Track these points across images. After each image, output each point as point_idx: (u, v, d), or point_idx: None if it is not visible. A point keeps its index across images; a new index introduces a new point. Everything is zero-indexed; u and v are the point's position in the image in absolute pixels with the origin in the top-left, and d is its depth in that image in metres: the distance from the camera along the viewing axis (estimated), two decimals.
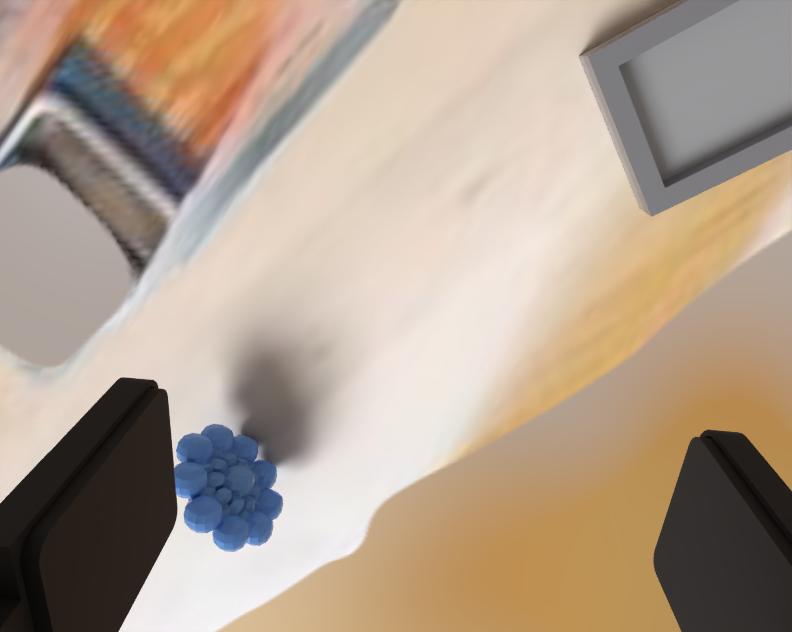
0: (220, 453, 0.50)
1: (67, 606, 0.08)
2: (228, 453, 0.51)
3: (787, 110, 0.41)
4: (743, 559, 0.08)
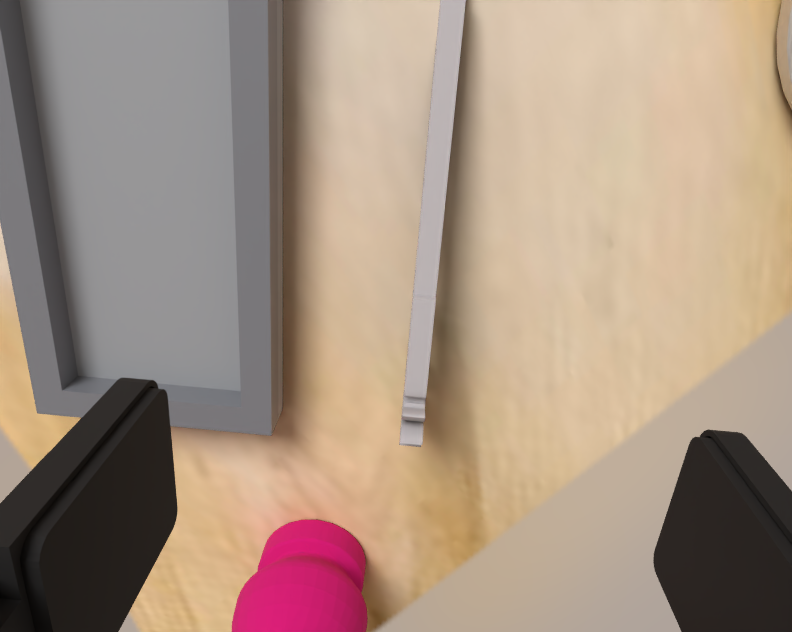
0: None
1: (67, 606, 0.08)
2: None
3: (45, 74, 0.26)
4: (743, 559, 0.08)
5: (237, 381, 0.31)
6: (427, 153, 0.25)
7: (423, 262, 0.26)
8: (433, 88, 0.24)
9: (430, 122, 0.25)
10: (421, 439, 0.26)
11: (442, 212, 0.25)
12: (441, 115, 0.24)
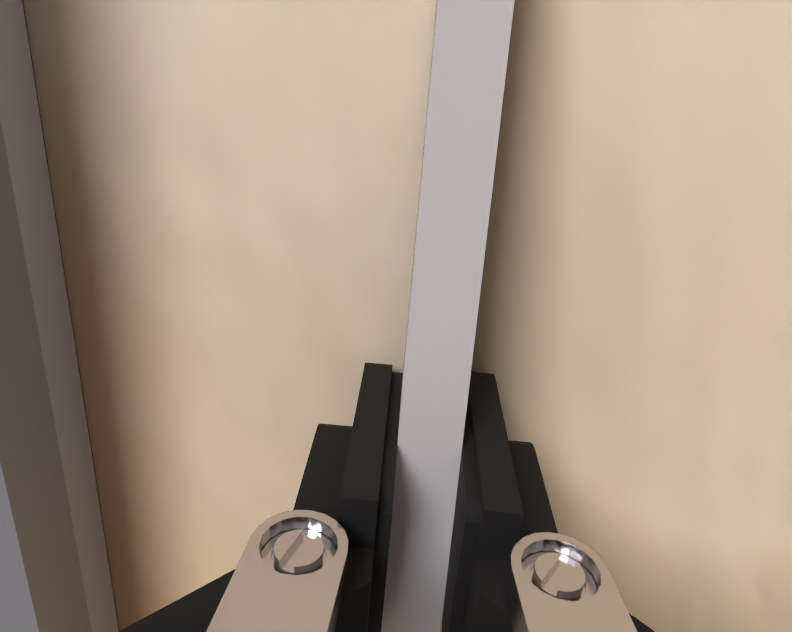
0: None
1: None
2: None
3: None
4: None
5: None
6: (409, 341, 0.09)
7: (401, 611, 0.10)
8: (426, 162, 0.08)
9: (417, 258, 0.09)
10: None
11: (451, 491, 0.09)
12: (450, 241, 0.08)
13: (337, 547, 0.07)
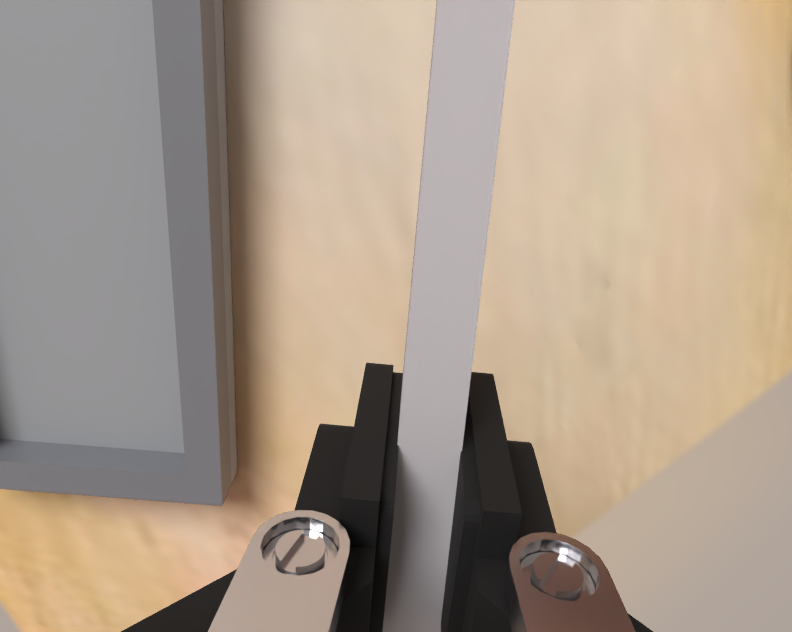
0: None
1: None
2: None
3: None
4: None
5: (183, 442, 0.27)
6: (409, 343, 0.09)
7: (401, 613, 0.10)
8: (426, 163, 0.08)
9: (417, 259, 0.08)
10: None
11: (451, 493, 0.09)
12: (450, 240, 0.08)
13: (339, 547, 0.07)
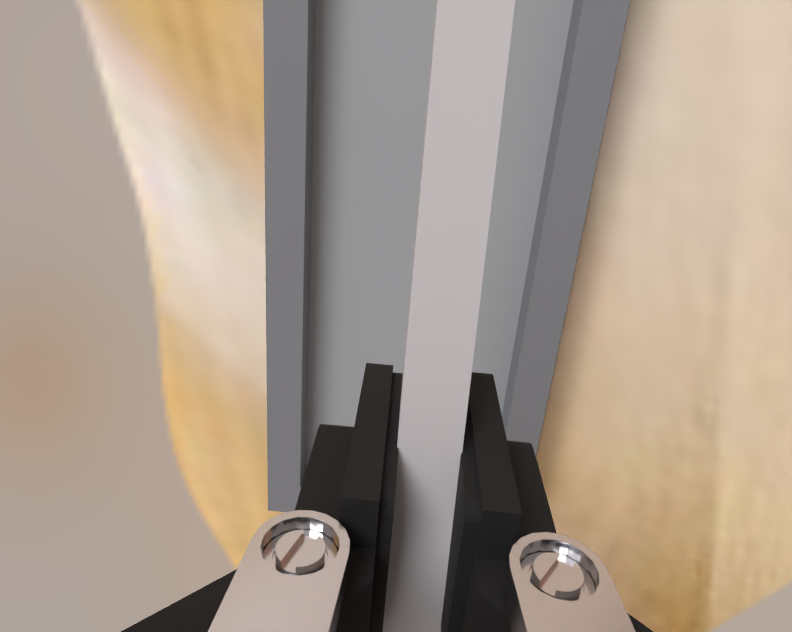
0: None
1: None
2: None
3: (328, 164, 0.24)
4: None
5: None
6: (409, 346, 0.09)
7: (400, 617, 0.10)
8: (425, 166, 0.08)
9: (417, 262, 0.08)
10: None
11: (451, 497, 0.09)
12: (449, 244, 0.08)
13: (338, 547, 0.07)
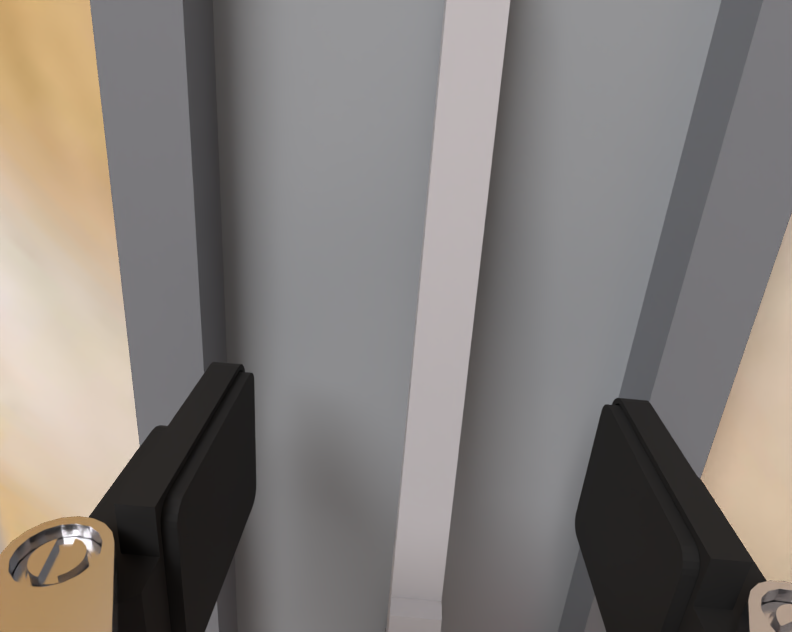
0: None
1: (191, 566, 0.08)
2: None
3: (251, 257, 0.13)
4: (633, 511, 0.09)
5: None
6: (421, 296, 0.10)
7: (413, 531, 0.11)
8: (435, 143, 0.10)
9: (428, 224, 0.10)
10: None
11: (457, 426, 0.11)
12: (456, 209, 0.10)
13: (100, 557, 0.07)
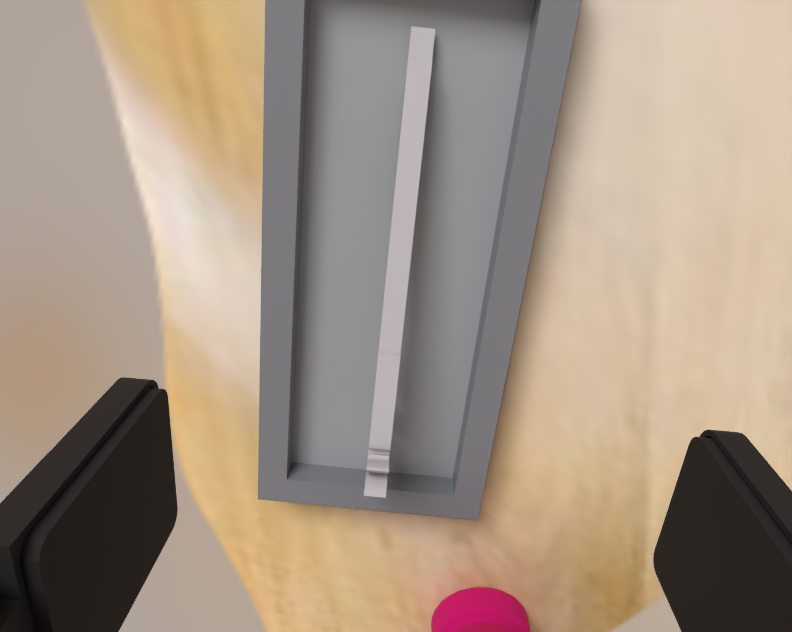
0: None
1: (67, 606, 0.08)
2: None
3: (315, 203, 0.28)
4: (743, 559, 0.08)
5: (442, 468, 0.34)
6: (393, 215, 0.25)
7: (388, 319, 0.26)
8: (399, 153, 0.25)
9: (396, 185, 0.25)
10: (385, 492, 0.27)
11: (407, 271, 0.26)
12: (407, 179, 0.25)
13: None
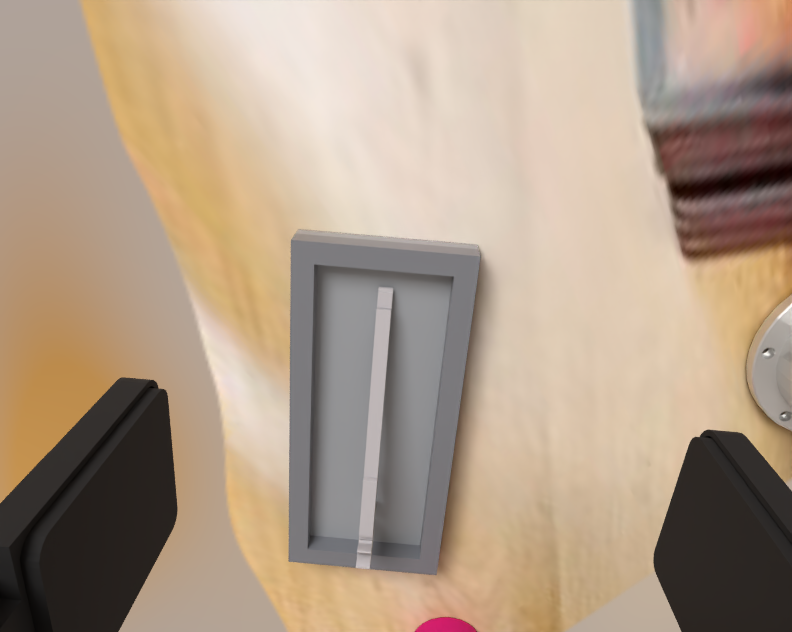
0: None
1: (67, 606, 0.08)
2: None
3: (323, 380, 0.44)
4: (743, 559, 0.08)
5: (412, 539, 0.49)
6: (370, 397, 0.41)
7: (369, 458, 0.42)
8: (373, 362, 0.41)
9: (371, 380, 0.41)
10: (369, 565, 0.43)
11: (380, 430, 0.42)
12: (378, 377, 0.41)
13: None
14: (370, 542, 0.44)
